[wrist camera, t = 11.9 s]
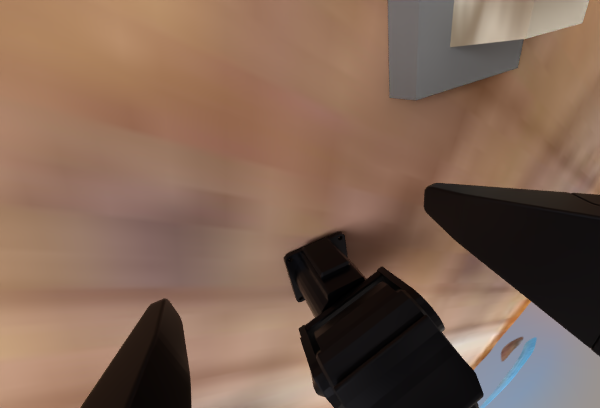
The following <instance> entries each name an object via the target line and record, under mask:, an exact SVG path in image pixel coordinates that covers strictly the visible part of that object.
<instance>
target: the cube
mask: <svg viewBox="0 0 600 408" xmlns="http://www.w3.org/2000/svg"><path fill="white" fill-rule="evenodd" d="M588 3H589V0H454V8H453V20H452V31H451V42H450V47H457V46H466V45H475V44H484V43H493V42H502V41H511V40H520V39H527V38H531V37H534V36H538V35H542V34H545V33H549V32H552V31H556V30H559V29H563V28H567V27H570V26H574V25H577V24H581V23H583V19H584V16H585V13H586V9H587V6H588Z"/></svg>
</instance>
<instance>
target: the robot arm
mask: <svg viewBox="0 0 600 408" xmlns="http://www.w3.org/2000/svg"><path fill="white" fill-rule="evenodd" d="M424 209H425V211H426V213H427V214H428V215H429V216H430V217H431V218H432V219H434V220H435V221H436V222H437V223H438V224H439V225H440V226H441V227H442V228H443V229H444V230H445V231H446V232H447V233H448V234H449V235H450V236H451V237H452V238H453V239H454V240H456V241H457V242H458V243H459V244H460V245H461V246H463V247H464V248H465V249H466V250H468V251H469V252H470V253H471V254H473V255H474V256H475V257H476V258H478V259H479V260H480V261H481V262H483V263H484V264H485V265H486V266H488V267H489V268H490V269H491V270H493V271H494V272H495V273H496V274H498V275H499V276H500V277H501V278H503V279H504V280H505V281H506V282H508V283H509V284H510V285H511V286H513V287H514V288H515V289H516V290H518V291H519V292H520V293H521V294H523V295H524V296H525V297H526V298H528V299H529V300H530V301H531V302H533V303H534V304H535V305H537V306H538V307H539V308H540V309H542V310H543V311H544V312H545V313H547V314H548V315H549V316H550V317H552V318H553V319H554V320H555V321H557V322H558V323H559V324H560V325H562V326H563V327H564V328H565V329H567V330H568V331H569V332H570V333H572V334H573V335H574V336H576V337H577V338H578V339H579V340H580V341H582V342H583V343H584V344H585V345H587V346H588V347H589V348H591V349H592V350H593V351H594V352H595V353H596V354H597V355H599V356H600V195H595V194H581V193H571V194H570V193H567V192H553V191H540V190H526V189H513V188H499V187H486V186H472V185H459V184H445V183H435V184H432V185H430V186H428V187H426V189H425V193H424ZM339 237H340V238H339ZM289 258H291V259H290V260H288V259H289ZM284 262H285V265H286V268H287V272H288V275H289V278H290V281H291V285H292V288H293V291H294V295H295V298H296V300H297V301H298V302H302V301H304V300H306V302H307V304H308V306H309V308H310V309H311V311H312V313H313V315H314V317H315V318H314V319H313V320H311V321H310V322H309V323H307V324H306V325H303V326H302V327H300V328H299V332H300V335H301V338H300V339H301V342H302V346H303V349H304V352H305V355H306V358H307V361H308V364H309V367H310V370H311V374H312V380H313V387H314V389H315V391H316V393H317V394H318V395H320V396H323V397H326V399H327V400H328V401H329V402H330V403H331V404H332V406H333V407H334V408H479V407H478V403H477V402H478V401H479V400H480V399H481V398H482V397H483V391H482V389H481V386H480V383H479V381H478V378H477V376H476V373H475V372H474V370H473V369H472V368H471V367H470V366H469V365H468V364H467V363H466V362H465V360H464V359H463V358H462V357H461V356H460V354H459V353H458V352H457V351H456V349H455V348H454V347H453V346H452V345H451V343H450V342H449V341H448V340H447V338H446V337H445V336H444V335H443V333H442V331H443V330H445V328H444V325H443V323H442V321H441V319H440V318H439V316H438V315H437V313H436V312H435V311H434V310H433V308H432V307H431V306H430V305H429V304H428V303H427V301H426V300H425V299H424V298H423V297H422V296H421V295H420V294H419V293H418V292H416V291H415V290H414V289H413V288H411V287H410V286H409V285H407V284H406V283H404V282H403V281H402V280H400V279H399V278H398V277H396V276H395V275H393V274H392V273H391V272H389V271H388V270H386V269H385V268H384V267H380V268H379V269H378V270H377V272H375V273H374V274H373V275H371V276H370V277H369V278H367V279H366V278H365V277H364V276H363V274H362V273H361V272H360V271H359V270H358V269H357V268H356V267H355V266H354V265H353V263H352V262H351V261H350V260H349V259H348V257H347V250H346V242H345V236H344V234H343V233H342V232H337V233H335V234H333V235H330V236H328V237H326V238H323V239H321V240H319V241H316V242H314V243H312V244H310V245H307V246H305V247H303V248H300V249H298V250H296V251H293V252H291V253H289V254H287V255H286V256H285V257H284ZM80 408H191V382H190V371H189V364H188V357H187V351H186V344H185V337H184V331H183V324H182V320H181V318H180V316H179V314H178V313H177V311H176V310H175V309H174V307H173V306H172V304H171V303H170V301H169V300H168V299H162V300H159V301H157V302H155V303H152V304H151V305H150V306H149V307H148V308H147V310H146V311H145V313H144V314H143V316H142V317H141V319H140V320H139V322H138V323H137V325H136V326H135V328H134V329H133V330H132V332H131V333H130V335H129V336H128V338H127V339H126V341H125V342H124V344H123V345H122V347H121V348H120V350H119V351H118V353H117V354H116V356H115V357H114V359H113V360H112V362H111V363H110V365H109V366H108V368H107V369H106V370H105V372H104V373H103V375H102V376H101V378H100V379H99V381H98V382H97V384H96V385H95V387H94V388H93V390H92V391H91V393H90V394H89V396H88V397H87V399H86V400H85V402H84V403H83V405H82V406H81V407H80Z"/></svg>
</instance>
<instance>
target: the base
mask: <svg viewBox="0 0 600 408" xmlns="http://www.w3.org/2000/svg"><path fill="white" fill-rule="evenodd" d="M453 8H454V0H388V35H389V92H390V98H398V99H408V100H418V99H422V98H425V97H428V96H431V95H434V94H437V93H440V92H444V91H447V90H450V89H453V88H456V87H459V86H462V85H466V84H469V83H472V82H475V81H478V80H481V79H484V78H488V77H491V76H494V75H497V74H500V73H503V72H506V71H510V70H513V69H516V68H518V64H519V59H520V55H521V50H522V45H523V40H524V39H520V40H511V41H502V42H493V43H484V44H475V45H466V46H457V47H450V42H451V31H452V20H453Z"/></svg>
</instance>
